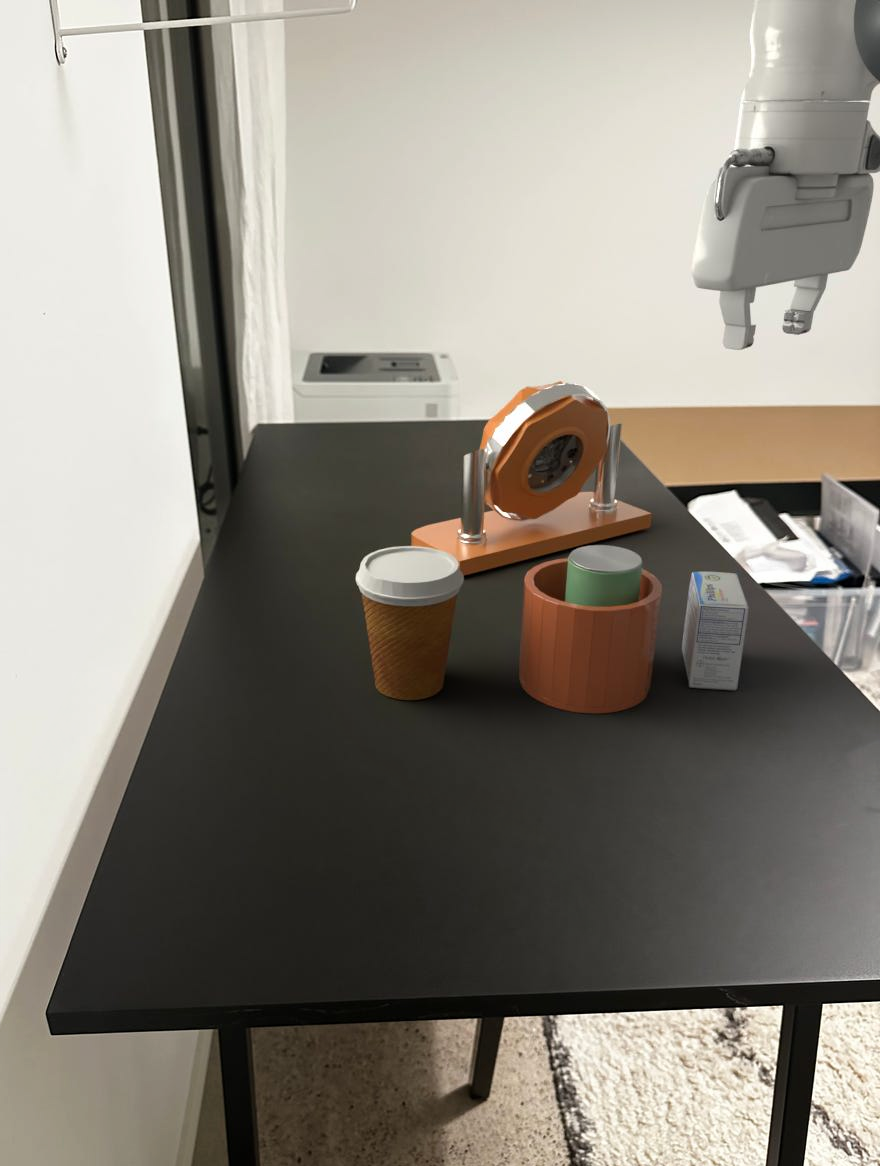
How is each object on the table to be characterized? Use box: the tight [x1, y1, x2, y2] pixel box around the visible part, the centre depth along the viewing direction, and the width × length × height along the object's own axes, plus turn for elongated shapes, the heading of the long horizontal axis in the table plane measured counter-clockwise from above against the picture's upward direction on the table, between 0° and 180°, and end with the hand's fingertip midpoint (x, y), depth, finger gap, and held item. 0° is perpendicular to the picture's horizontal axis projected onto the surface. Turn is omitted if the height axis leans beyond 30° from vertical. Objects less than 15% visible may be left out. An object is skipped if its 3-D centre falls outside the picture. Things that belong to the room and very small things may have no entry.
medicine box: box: [681, 571, 750, 692], centre depth 97 cm, size 8×4×9 cm, turn 171°
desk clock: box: [410, 381, 652, 576], centre depth 126 cm, size 12×30×20 cm, turn 123°
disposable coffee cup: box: [355, 545, 465, 701], centre depth 94 cm, size 10×10×12 cm
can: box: [565, 544, 644, 607], centre depth 93 cm, size 12×6×6 cm
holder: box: [518, 557, 663, 714], centre depth 95 cm, size 12×12×10 cm
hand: (767, 340), depth 82 cm, fingers open, 8 cm apart
